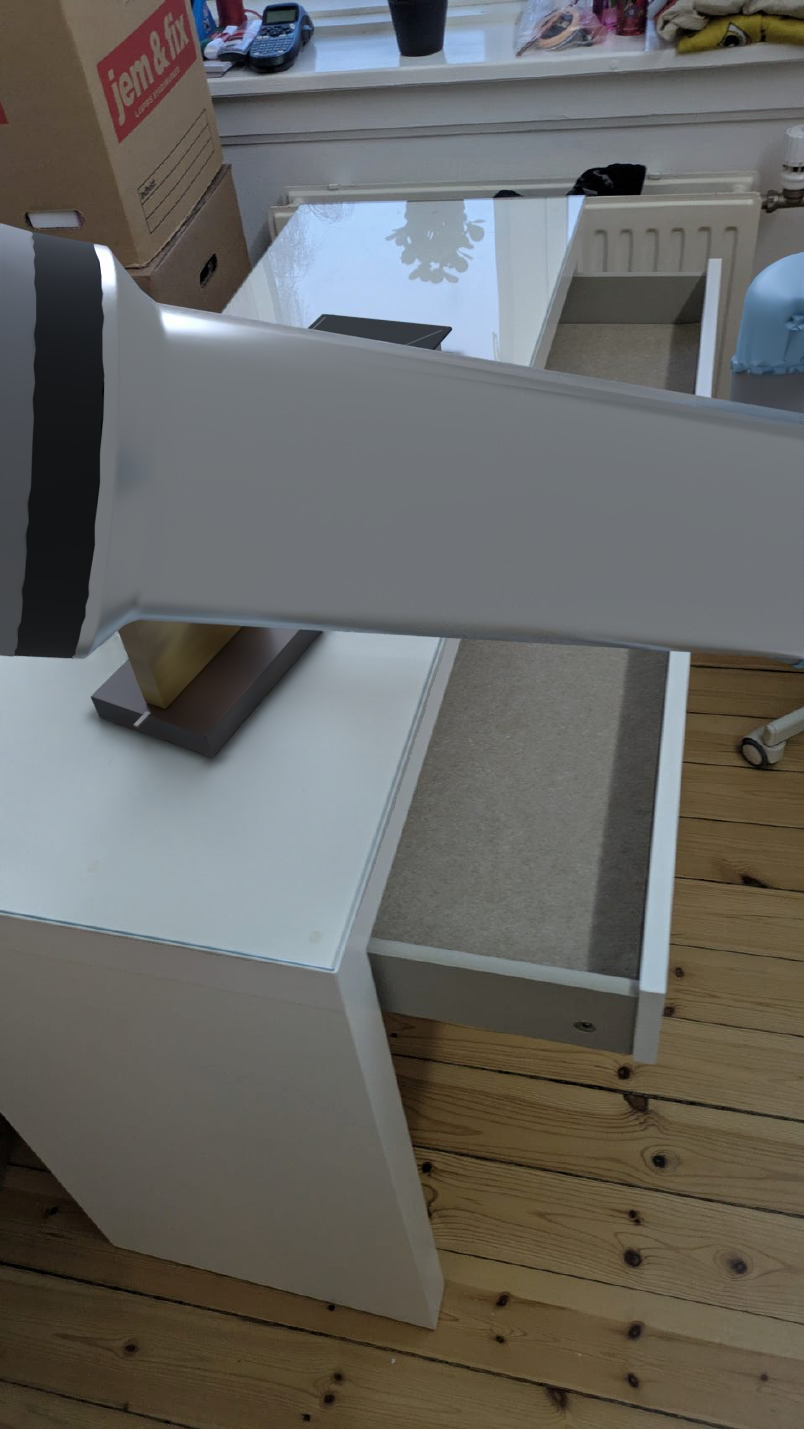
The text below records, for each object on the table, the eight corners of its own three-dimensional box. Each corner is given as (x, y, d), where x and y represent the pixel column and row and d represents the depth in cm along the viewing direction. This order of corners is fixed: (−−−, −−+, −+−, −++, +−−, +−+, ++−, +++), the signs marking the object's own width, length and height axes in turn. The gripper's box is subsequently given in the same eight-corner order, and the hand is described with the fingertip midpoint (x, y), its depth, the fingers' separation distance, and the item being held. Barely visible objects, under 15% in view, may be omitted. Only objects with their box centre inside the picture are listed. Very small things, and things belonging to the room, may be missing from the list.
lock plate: (203, 769, 72) (195, 746, 70) (88, 727, 76) (78, 705, 74) (330, 620, 81) (326, 597, 80) (222, 590, 85) (216, 568, 84)
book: (325, 340, 114) (320, 313, 112) (455, 355, 109) (452, 326, 107) (215, 448, 101) (208, 419, 99) (357, 471, 95) (352, 441, 93)
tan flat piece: (165, 709, 73) (130, 614, 67) (144, 702, 74) (108, 607, 68) (264, 603, 80) (240, 509, 74) (244, 597, 81) (219, 504, 75)
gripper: (557, 674, 57) (197, 577, 67) (644, 534, 64) (310, 465, 74) (554, 558, 52) (164, 471, 61) (649, 420, 59) (289, 363, 69)
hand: (244, 468), depth 68 cm, fingers closed
